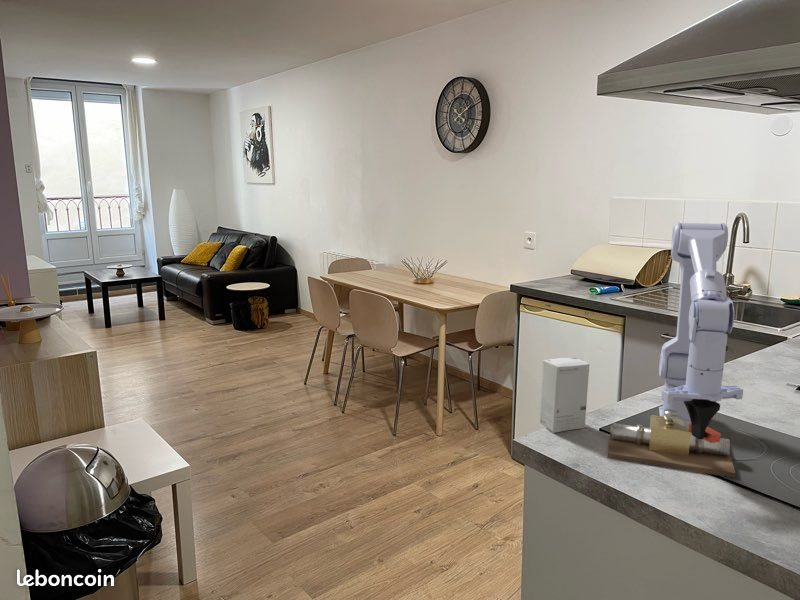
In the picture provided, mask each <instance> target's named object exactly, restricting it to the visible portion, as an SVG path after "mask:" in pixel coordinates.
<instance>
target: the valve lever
mask: <svg viewBox="0 0 800 600" xmlns="http://www.w3.org/2000/svg"><path fill="white" fill-rule="evenodd" d="M664 419H666V420H668V421H675V422H676V423H678V424H680V425H682V426H684V427H686V428H688V429H689V432H691V426H692V424H691V421H690V420H688V419H686V418H684V417H682V416H680V415H679V412H678V411H676V410H672V409H666V410H664ZM721 435H722V434H721V432H719V431H717V430H715V429H713V428H711V427H709V426H707V428H706V430H705V435H704V438H703V439H704V440H706V441H708V442H710V443H715V442H720V438H721Z"/></svg>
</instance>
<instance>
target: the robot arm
mask: <svg viewBox="0 0 800 600" xmlns="http://www.w3.org/2000/svg"><path fill="white" fill-rule="evenodd" d="M728 242H729V227H728V226H727V225H726V223H724V222H721V223H701V222H700V223H699V222H698V223H697V222H693V223H692V222H680V221H677V222H676V223H675V224H673V228H672V234H671V248H670V256H671V260H672V261H675V262H676V263H679V267H680V272H681V275H680V284H679V285H680V286H679V298H678V299H679V300H678V311H677V322H676V326H677V327H676V336H675V337H673V338H672V339H670V340H668V341H666V342H665V343H663V345H662V346H661V352H660V355H659V362H658V363H659V364H658V365H659V366H658V373H659V377H660V379H661V380H664V389H662V390H661V401H662V405H661V406H659V407H658V412H659V416H663V417H664V410H666V409H672V410H676V411H678V412H679V415H680V416H682V417H684V418H686V419H688V420H690V421H691V424H692V426H691V434H692V435H693V436H694V437H696V438H697V439H703V438H704V435H705V430H706V428H707V427H709V424H710V422H711V420H712V419H713V418H714V416H715V415H717V413H718V412H719V411H720V410H721V403H719V402H720V401H722V400H725V399H727V400H728V399H734V400H743V395H744V389H743V388H742V387H739V386H737V385H725V384H723V385H722V383H723V376H724V368H725V367H724V366H725V359H726V351H727V343H728V334H729V335H730V334H731V333H732V331H733V327H734V322H735V305H734V302H733V300H732V299H731V298H730V297H729V296H727V290H726V289H727V288H726V283H725V277H724V275H723V273H721V272H720V271H718V270H717V262H719V260H720V259H721V257H722V256H723V254H724V253H725V251H726V250H727V247H728Z"/></svg>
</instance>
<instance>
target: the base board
mask: <svg viewBox="0 0 800 600" xmlns="http://www.w3.org/2000/svg"><path fill="white" fill-rule="evenodd" d="M612 432H613V423H612V424H610V431H609V440H608V446H607V447H608V449H607V458H608V459H615V460H621V461H626V462H627V461H628V462H634V463H640V464H644V465H651V466H656V467H657V466H658V467H663V468H670V469H677V470H682V471H683V470H684V471H689V472H695V473H696V472H697V473H701V474H707V475H708V474H709V475H713V476H714V475H715V476H719V475H722V476H721V477H725V476H727V478H731V477H734V478H733V479H735V478H736V470H735V466H734V464H733V460H732V456H731V454H730V452H729V456H723V455H716V454H709V453H702V454H697V453H696V451H689V456H683V455H677V454H670V453H664V452H657V451H651V450H649V444H642V443H641V445H637V444H636V442H629V441H622V440H616V439H612Z"/></svg>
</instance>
